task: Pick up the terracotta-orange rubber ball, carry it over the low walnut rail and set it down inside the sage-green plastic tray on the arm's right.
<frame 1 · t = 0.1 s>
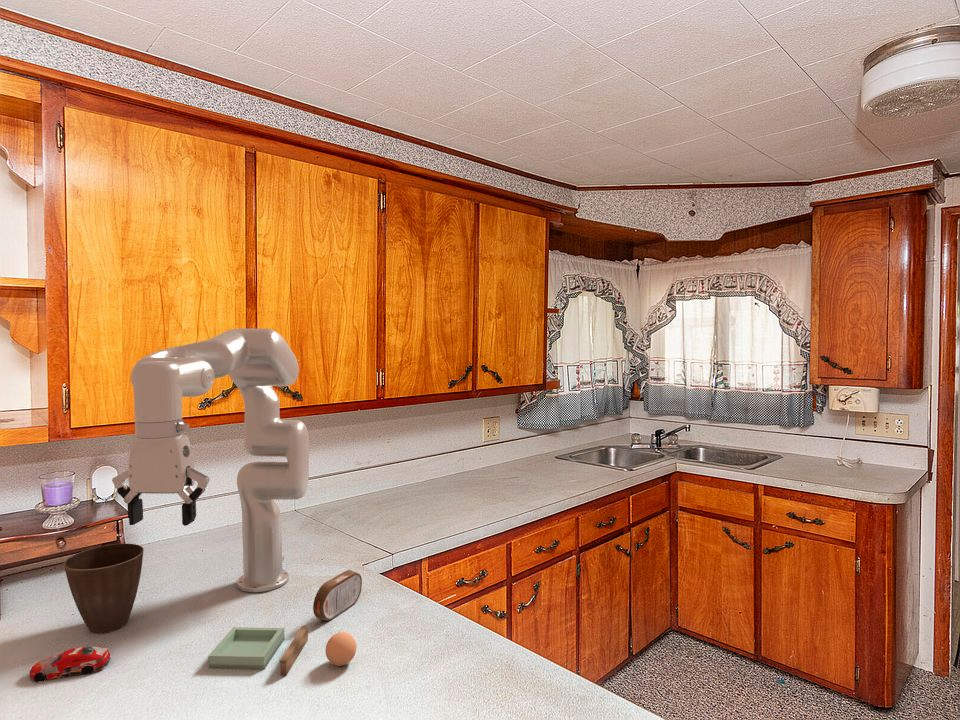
hand: (162, 522, 109), 31 cm above the counter, fingers open, 9 cm apart
ball: (341, 663, 119), on the counter
race car: (71, 672, 116), on the counter
tray: (248, 653, 122), on the counter
tin: (339, 612, 140), on the counter
rail: (294, 656, 121), on the counter
plant pot: (107, 626, 133), on the counter
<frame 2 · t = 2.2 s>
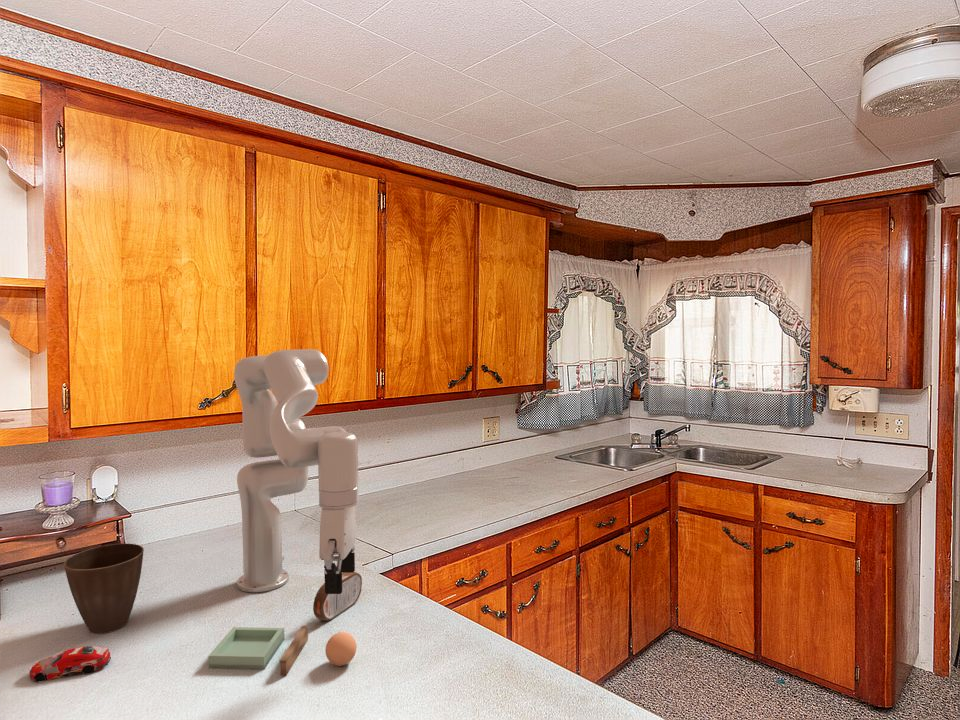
hand: (340, 582, 117), 17 cm above the counter, fingers open, 9 cm apart
nothing on the counter moved.
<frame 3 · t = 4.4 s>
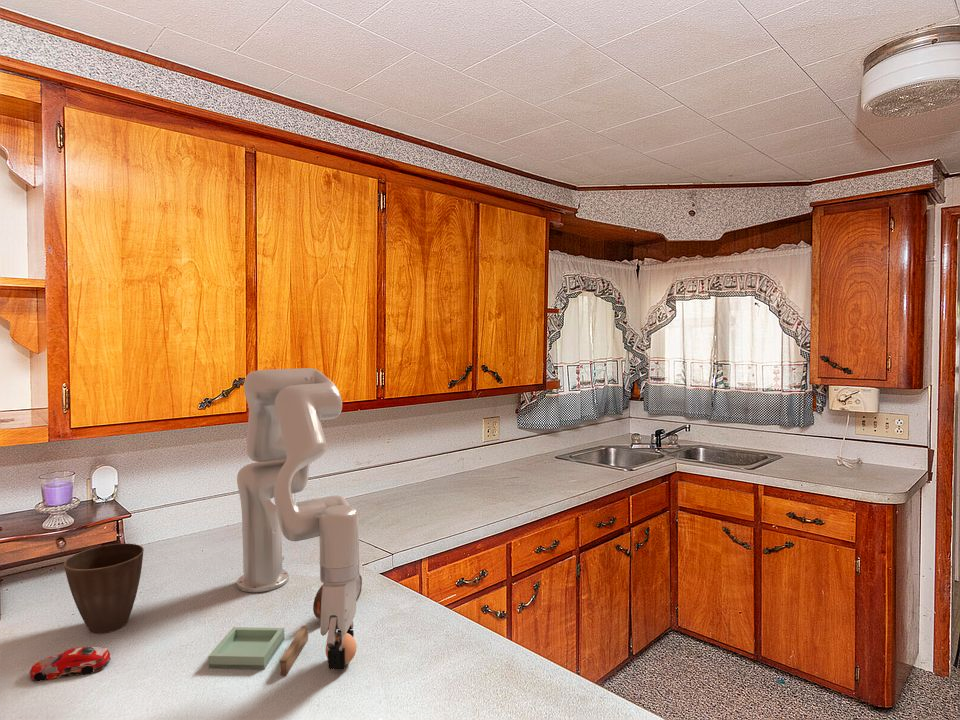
hand: (341, 658, 118), 1 cm above the counter, fingers closed on ball, 6 cm apart
ball: (341, 663, 119), on the counter, touching gripper
everything else where it was.
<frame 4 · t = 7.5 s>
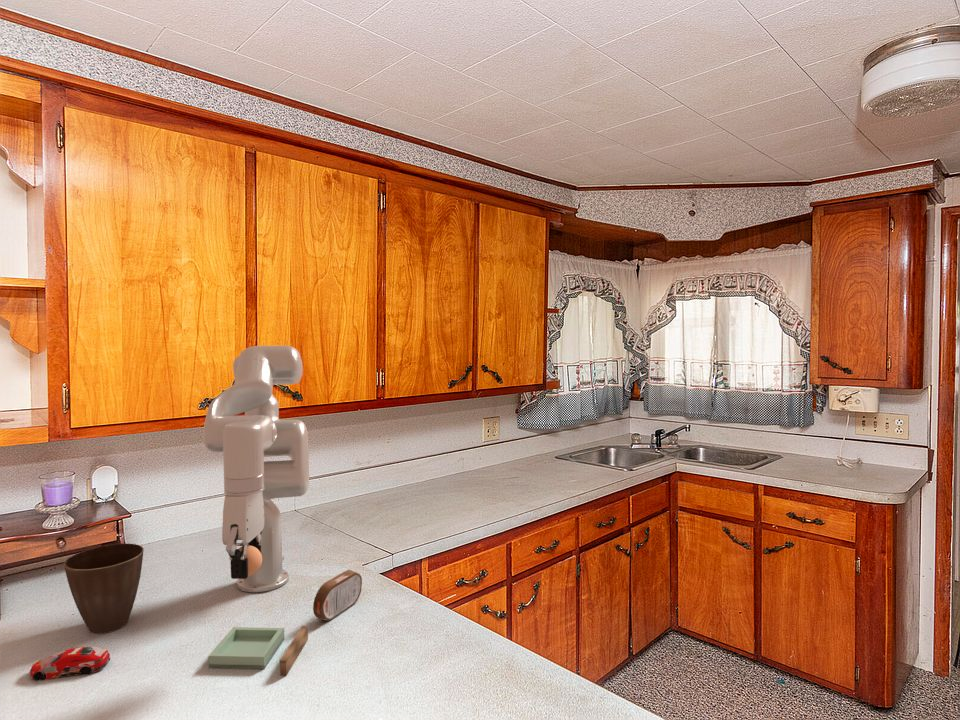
hand: (246, 570, 121), 17 cm above the counter, fingers closed on ball, 5 cm apart
ball: (246, 575, 121), point 16 cm above the counter, touching gripper
everything else where it was.
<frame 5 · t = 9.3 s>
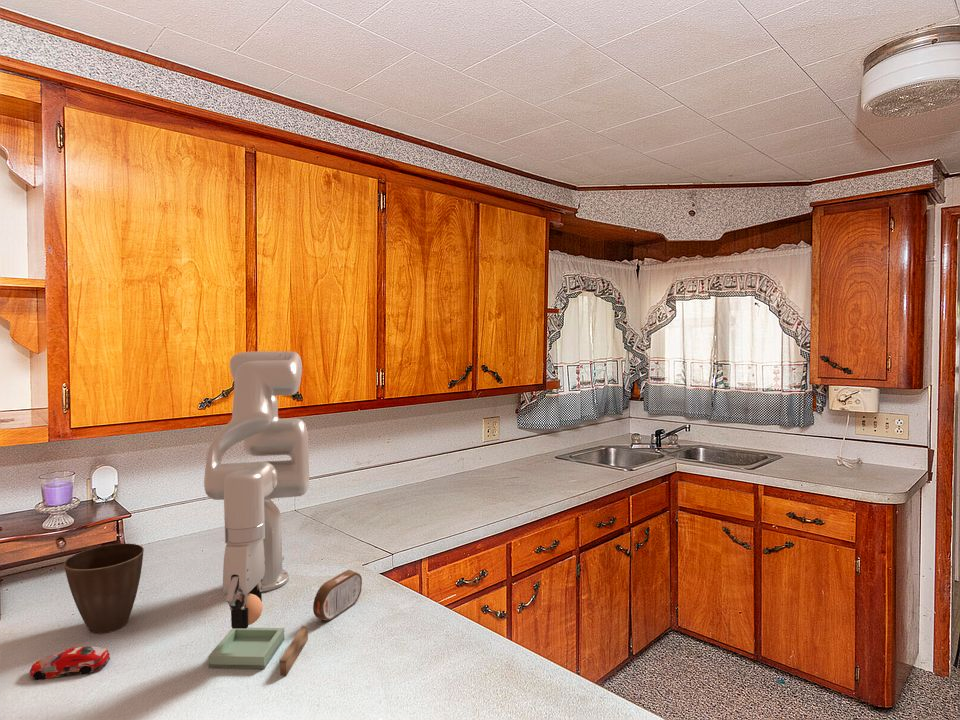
hand: (247, 618, 121), 7 cm above the counter, fingers closed on ball, 5 cm apart
ball: (247, 623, 121), point 6 cm above the counter, touching gripper
everything else where it was.
when the fingers open (4 cm above the counter, at t = 10.6 s): ball drops 2 cm, resting on tray.
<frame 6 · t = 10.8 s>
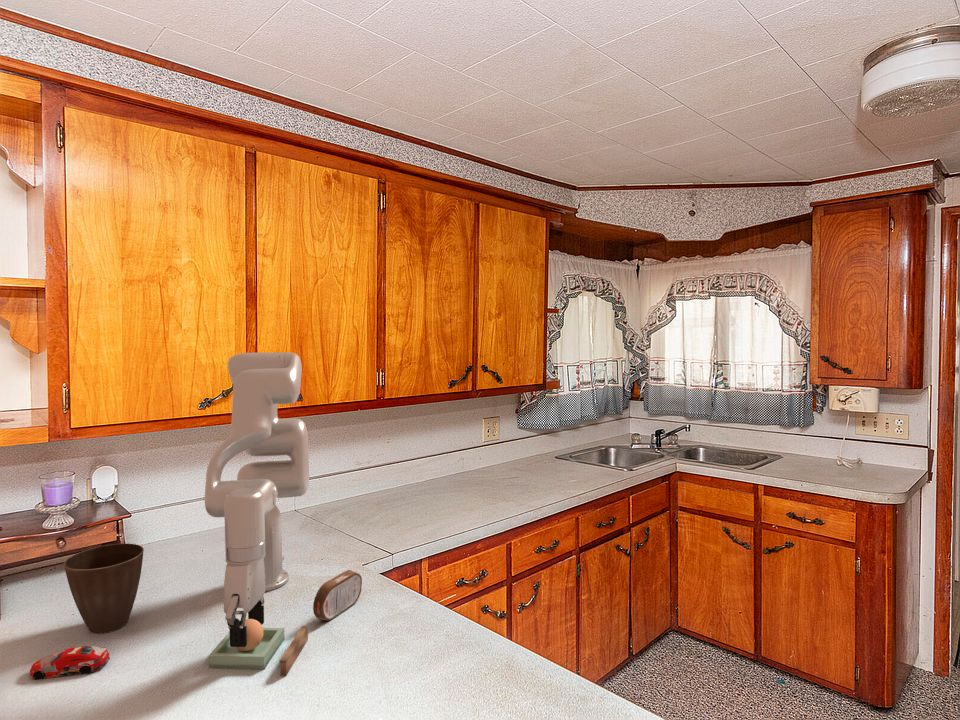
hand: (247, 634, 122), 4 cm above the counter, fingers open, 8 cm apart
ball: (248, 649, 122), point 1 cm above the counter, touching tray
everything else where it was.
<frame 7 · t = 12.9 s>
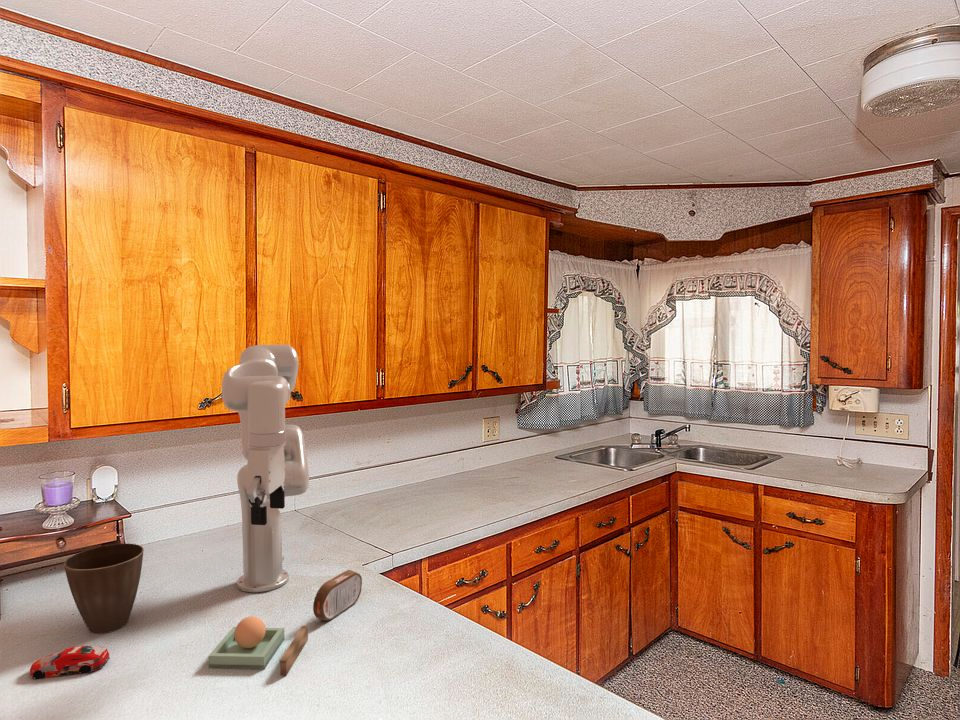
hand: (268, 515, 130), 26 cm above the counter, fingers open, 9 cm apart
ball: (248, 648, 122), point 1 cm above the counter, tilted 23°, touching tray
everything else where it was.
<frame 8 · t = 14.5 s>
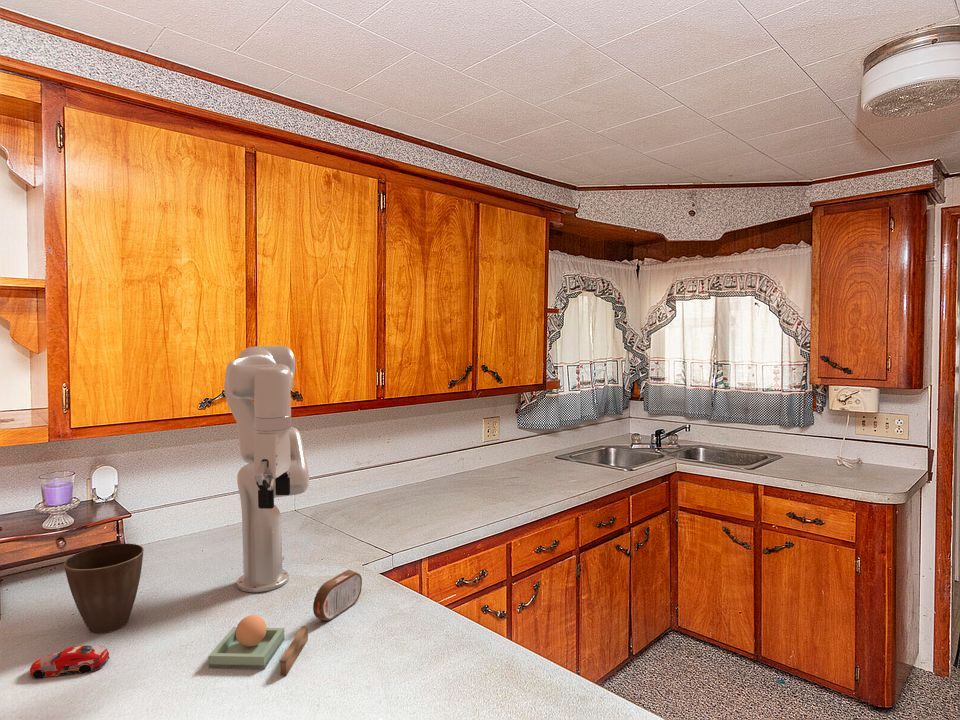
hand: (274, 501, 131), 28 cm above the counter, fingers open, 9 cm apart
ball: (248, 646, 122), point 1 cm above the counter, tilted 33°, touching tray
everything else where it was.
at the end: ball inside the target area on the tray (0.1 cm from its centre), point 1.3 cm above the tray's base; the gripper is holding nothing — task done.
